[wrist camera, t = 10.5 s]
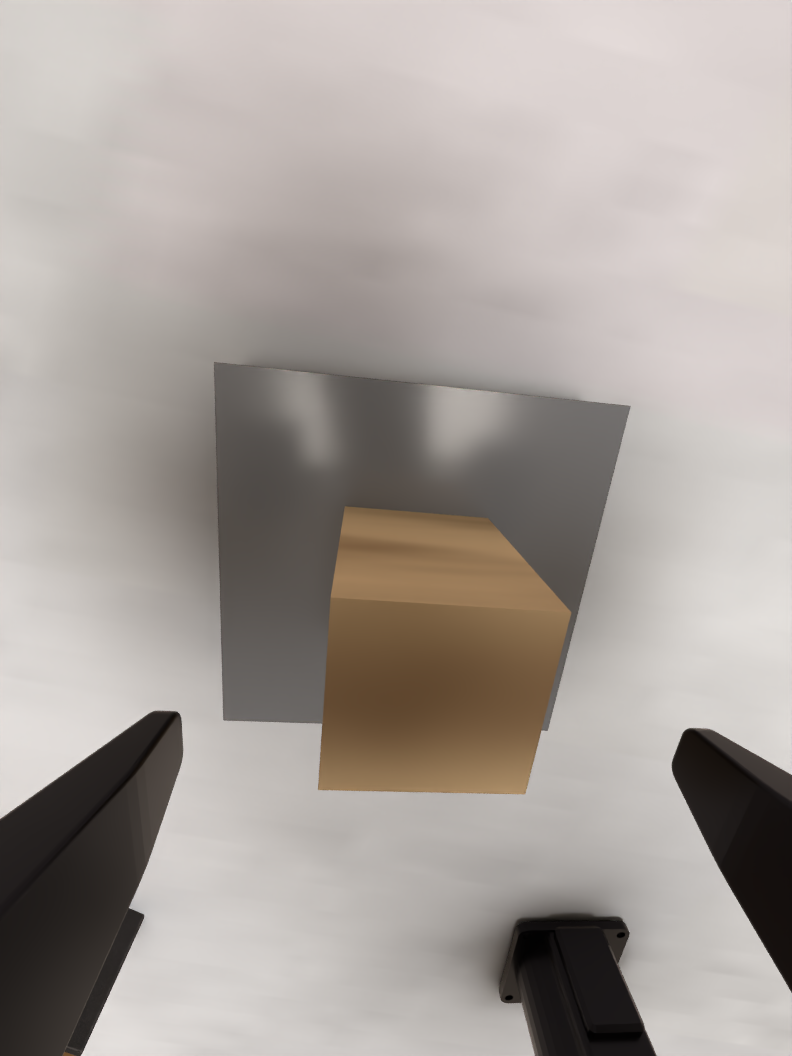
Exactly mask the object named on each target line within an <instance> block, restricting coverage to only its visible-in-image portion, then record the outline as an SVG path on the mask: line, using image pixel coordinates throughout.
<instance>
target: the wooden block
mask: <svg viewBox="0 0 792 1056" xmlns="http://www.w3.org/2000/svg"><path fill="white" fill-rule="evenodd" d="M570 616H571V611H570V610H569V609H568V608H567V607H566V606H565V605H564V604H563V602H562V601H561V600H560V599H559V598H558V597H557V596H556V595H555V593H554V592H553V591H552V590H551V589H550V588H549V587H548V585H547V584H546V583H545V582H544V581H543V580H542V579H541V578H540V576H539V575H538V574H537V573H536V572H535V571H534V570H533V569H532V567H531V566H530V565H529V564H528V563H527V562H526V561H525V559H524V558H523V557H522V556H521V555H520V554H519V553H518V552H517V550H516V549H515V548H514V547H513V546H512V545H511V544H510V543H509V541H508V540H507V539H506V538H505V537H504V536H503V535H502V534H501V532H500V531H499V530H498V529H497V528H496V527H495V526H494V524H493V523H492V522H491V521H490V520H489V519H488V518H481V517H469V516H457V515H445V514H432V513H420V512H408V511H396V510H383V509H371V508H359V507H347V506H345V509H344V515H343V521H342V528H341V534H340V540H339V547H338V553H337V560H336V566H335V572H334V579H333V585H332V592H331V599H330V614H329V630H328V645H327V660H326V676H325V691H324V707H323V722H322V738H321V753H320V769H319V784H318V790H345V791H393V792H441V793H489V794H525V793H526V789H527V785H528V781H529V777H530V773H531V769H532V765H533V761H534V757H535V753H536V749H537V746H538V742H539V738H540V734H541V730H542V726H543V722H544V718H545V714H546V710H547V706H548V702H549V698H550V695H551V691H552V687H553V683H554V679H555V675H556V671H557V667H558V663H559V659H560V655H561V651H562V647H563V644H564V640H565V636H566V632H567V628H568V624H569V620H570Z"/></svg>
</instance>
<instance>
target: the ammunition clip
mask: <svg viewBox="0 0 792 1056" xmlns="http://www.w3.org/2000/svg"><path fill="white" fill-rule="evenodd" d="M143 919H144V914H141V913H139V912H137V911H134V910H132V909H130V908H128V910H127V913H126V915H125V917H124V919H123V922H122V924H121V926H120V928H119V931H118V933H117V935H116V937H115V940H114V942H113V944H112V946H111V949H110V951H109V953H108V955H107V958H106V960H105V962H104V964H103V967H102V969H101V971H100V973H99V975H98V978H97V980H96V982H95V984H94V987H93V989H92V991H91V993H90V996H89V998H88V1000H87V1002H86V1005H85V1007H84V1009H83V1011H82V1014H81V1016H80V1018H79V1020H78V1023H77V1025H76V1027H75V1029H74V1032H73V1034H72V1036H71V1038H70V1041H69V1043H68V1045H67V1047H66V1049H65V1052H64V1054H63V1056H81V1054H82V1053H83V1051H84V1048H85V1046H86V1044H87V1042H88V1040H89V1037H90V1035H91V1033H92V1031H93V1029H94V1026H95V1024H96V1022H97V1020H98V1018H99V1015H100V1013H101V1011H102V1009H103V1007H104V1004H105V1002H106V1000H107V998H108V996H109V994H110V991H111V989H112V987H113V985H114V983H115V980H116V978H117V976H118V974H119V972H120V969H121V967H122V965H123V963H124V961H125V958H126V956H127V954H128V952H129V950H130V948H131V945H132V943H133V941H134V939H135V937H136V934H137V932H138V930H139V928H140V926H141V923H142V921H143Z"/></svg>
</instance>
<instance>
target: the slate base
mask: <svg viewBox="0 0 792 1056" xmlns="http://www.w3.org/2000/svg"><path fill="white" fill-rule="evenodd" d="M214 378H215V416H216V455H217V493H218V532H219V570H220V608H221V647H222V685H223V720H227V721H258V722H290V723H322V722H323V707H324V691H325V676H326V660H327V645H328V630H329V614H330V599H331V592H332V585H333V579H334V572H335V566H336V560H337V553H338V547H339V540H340V534H341V528H342V521H343V515H344V509H345V506H347V507H359V508H371V509H383V510H396V511H408V512H420V513H432V514H445V515H457V516H469V517H481V518H488V519H489V520H490V521H491V522H492V523H493V524H494V526H495V527H496V528H497V529H498V530H499V531H500V532H501V534H502V535H503V536H504V537H505V538H506V539H507V540H508V541H509V543H510V544H511V545H512V546H513V547H514V548H515V549H516V550H517V552H518V553H519V554H520V555H521V556H522V557H523V558H524V559H525V561H526V562H527V563H528V564H529V565H530V566H531V567H532V569H533V570H534V571H535V572H536V573H537V574H538V575H539V576H540V578H541V579H542V580H543V581H544V582H545V583H546V584H547V585H548V587H549V588H550V589H551V590H552V591H553V592H554V593H555V595H556V596H557V597H558V598H559V599H560V600H561V601H562V602H563V604H564V605H565V606H566V607H567V608H568V609H569V610H570V611H571V616H570V620H569V624H568V628H567V632H566V636H565V640H564V644H563V647H562V651H561V655H560V659H559V663H558V667H557V671H556V675H555V679H554V683H553V687H552V691H551V695H550V698H549V702H548V706H547V710H546V714H545V718H544V722H543V726H542V730H544V731H548V727H549V723H550V719H551V715H552V712H553V708H554V704H555V700H556V696H557V692H558V688H559V684H560V680H561V676H562V672H563V668H564V665H565V661H566V657H567V653H568V649H569V645H570V641H571V637H572V633H573V629H574V625H575V621H576V618H577V614H578V610H579V606H580V602H581V598H582V594H583V590H584V586H585V582H586V578H587V574H588V570H589V567H590V563H591V559H592V555H593V551H594V547H595V543H596V539H597V535H598V531H599V527H600V523H601V520H602V516H603V512H604V508H605V504H606V500H607V496H608V492H609V488H610V484H611V480H612V476H613V473H614V469H615V465H616V461H617V457H618V453H619V449H620V445H621V441H622V437H623V433H624V429H625V426H626V422H627V418H628V414H629V410H630V406H625V405H616V404H606V403H597V402H587V401H578V400H568V399H559V398H549V397H540V396H530V395H521V394H511V393H502V392H492V391H483V390H473V389H464V388H454V387H445V386H435V385H426V384H416V383H407V382H397V381H388V380H378V379H369V378H359V377H350V376H340V375H331V374H321V373H312V372H302V371H293V370H283V369H274V368H264V367H255V366H245V365H236V364H226V363H217V362H214Z"/></svg>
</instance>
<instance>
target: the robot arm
mask: <svg viewBox="0 0 792 1056" xmlns="http://www.w3.org/2000/svg"><path fill="white" fill-rule="evenodd" d="M182 758H183V738H182V722H181V716H180V714H179V713H178V712H176V711H153V712H151V713H149V714H148V715H146V716H145V717H143V718H142V719H141V720H139V721H138V722H136V723H135V724H134V725H132V726H131V727H129V728H128V729H127V730H125V731H124V732H122V733H121V734H119V735H118V736H117V737H115V738H114V739H112V740H111V741H110V742H108V743H107V744H105V745H104V746H103V747H101V748H100V749H98V750H97V751H95V752H94V753H93V754H91V755H90V756H88V757H87V758H86V759H84V760H83V761H81V762H80V763H79V764H77V765H76V766H74V767H73V768H72V769H70V770H69V771H67V772H66V773H64V774H63V775H62V776H60V777H59V778H57V779H56V780H55V781H53V782H52V783H50V784H49V785H48V786H46V787H45V788H43V789H42V790H40V791H39V792H38V793H36V794H35V795H33V796H32V797H31V798H29V799H28V800H26V801H25V802H24V803H22V804H21V805H19V806H18V807H16V808H15V809H14V810H12V811H11V812H9V813H8V814H7V815H5V816H4V817H2V818H1V819H0V1056H63V1054H64V1052H65V1049H66V1047H67V1045H68V1043H69V1041H70V1038H71V1036H72V1034H73V1032H74V1029H75V1027H76V1025H77V1023H78V1020H79V1018H80V1016H81V1014H82V1011H83V1009H84V1007H85V1005H86V1002H87V1000H88V998H89V996H90V993H91V991H92V989H93V987H94V984H95V982H96V980H97V978H98V975H99V973H100V971H101V969H102V967H103V964H104V962H105V960H106V958H107V955H108V953H109V951H110V949H111V946H112V944H113V942H114V940H115V937H116V935H117V933H118V931H119V928H120V926H121V924H122V922H123V919H124V917H125V915H126V913H127V910H128V908H129V906H130V904H131V901H132V899H133V897H134V895H135V893H136V890H137V888H138V886H139V883H140V881H141V879H142V876H143V874H144V871H145V869H146V866H147V864H148V861H149V858H150V855H151V852H152V850H153V847H154V844H155V841H156V838H157V835H158V832H159V829H160V826H161V823H162V820H163V817H164V814H165V811H166V808H167V805H168V802H169V799H170V796H171V793H172V790H173V787H174V784H175V781H176V778H177V775H178V773H179V770H180V766H181V763H182ZM672 772H673V775H674V778H675V780H676V782H677V784H678V786H679V788H680V790H681V792H682V794H683V796H684V798H685V800H686V802H687V804H688V806H689V808H690V810H691V813H692V815H693V817H694V819H695V821H696V823H697V825H698V827H699V829H700V831H701V833H702V835H703V837H704V839H705V841H706V843H707V845H708V847H709V849H710V851H711V853H712V855H713V857H714V859H715V861H716V863H717V865H718V867H719V869H720V871H721V872H722V874H723V876H724V878H725V879H726V881H727V883H728V885H729V887H730V888H731V890H732V892H733V893H734V895H735V897H736V898H737V900H738V902H739V904H740V905H741V907H742V909H743V910H744V912H745V914H746V916H747V917H748V919H749V921H750V922H751V924H752V926H753V927H754V929H755V931H756V933H757V934H758V936H759V938H760V939H761V941H762V943H763V944H764V946H765V948H766V950H767V951H768V953H769V955H770V956H771V958H772V960H773V962H774V963H775V965H776V967H777V968H778V970H779V972H780V973H781V975H782V977H783V979H784V980H785V982H786V984H787V985H788V987H789V989H790V991H791V992H792V775H791V774H789V773H787V772H786V771H784V770H782V769H780V768H778V767H777V766H775V765H773V764H771V763H770V762H768V761H766V760H764V759H763V758H761V757H759V756H757V755H756V754H754V753H752V752H750V751H748V750H747V749H745V748H743V747H741V746H740V745H738V744H736V743H734V742H733V741H731V740H729V739H727V738H726V737H724V736H722V735H720V734H719V733H717V732H715V731H713V730H710V729H703V728H689V729H686V730H685V731H684V732H683V734H682V736H681V739H680V742H679V744H678V747H677V750H676V752H675V755H674V758H673V761H672ZM628 937H629V930H628V928H627V926H626V924H625V923H624V922H623V921H567V922H523V923H520V924H519V925H517V927H516V929H515V933H514V936H513V940H512V944H511V947H510V951H509V955H508V958H507V962H506V965H505V969H504V973H503V976H502V980H501V984H500V987H499V993H500V998H501V1001H502V1002H504V1003H522V1005H523V1009H524V1013H525V1017H526V1021H527V1025H528V1029H529V1033H530V1037H531V1041H532V1045H533V1049H534V1053H535V1056H657V1055H656V1053H655V1051H654V1048H653V1046H652V1044H651V1041H650V1039H649V1037H648V1035H647V1032H646V1030H645V1028H644V1023H643V1021H642V1018H641V1016H640V1014H639V1012H638V1009H637V1007H636V1005H635V1002H634V1000H633V998H632V995H631V993H630V991H629V988H628V986H627V984H626V982H625V979H624V977H623V975H622V972H621V970H620V968H619V965H618V962H619V960H620V957H621V955H622V952H623V950H624V947H625V945H626V942H627V940H628Z"/></svg>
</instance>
